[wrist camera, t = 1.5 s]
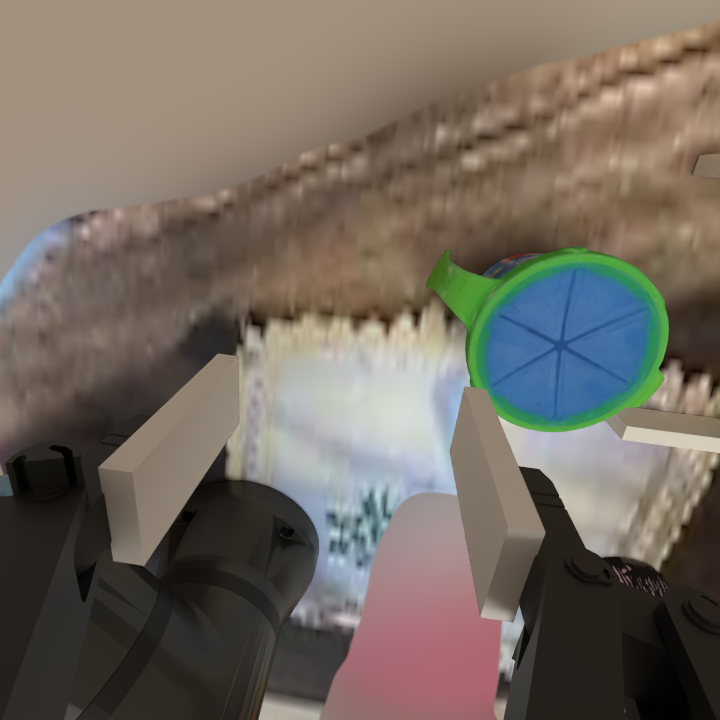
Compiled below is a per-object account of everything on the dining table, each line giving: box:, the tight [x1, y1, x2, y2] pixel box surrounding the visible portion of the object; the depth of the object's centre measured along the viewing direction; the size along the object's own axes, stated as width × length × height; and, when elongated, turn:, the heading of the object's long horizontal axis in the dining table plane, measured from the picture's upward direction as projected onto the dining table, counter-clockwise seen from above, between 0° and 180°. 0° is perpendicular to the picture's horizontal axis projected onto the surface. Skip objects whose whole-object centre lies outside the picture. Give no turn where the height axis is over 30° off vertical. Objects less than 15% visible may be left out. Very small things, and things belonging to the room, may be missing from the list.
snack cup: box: [426, 247, 669, 432], centre depth 28 cm, size 16×10×10 cm
